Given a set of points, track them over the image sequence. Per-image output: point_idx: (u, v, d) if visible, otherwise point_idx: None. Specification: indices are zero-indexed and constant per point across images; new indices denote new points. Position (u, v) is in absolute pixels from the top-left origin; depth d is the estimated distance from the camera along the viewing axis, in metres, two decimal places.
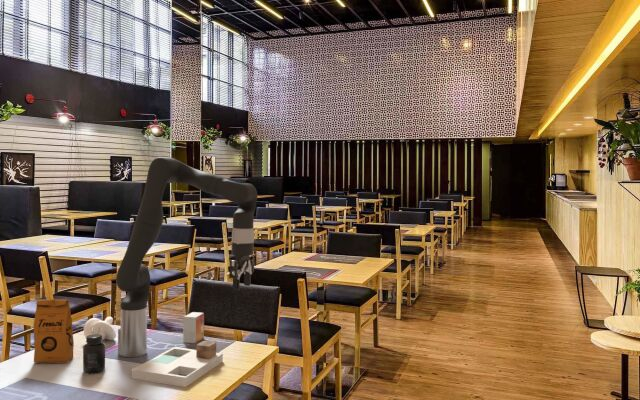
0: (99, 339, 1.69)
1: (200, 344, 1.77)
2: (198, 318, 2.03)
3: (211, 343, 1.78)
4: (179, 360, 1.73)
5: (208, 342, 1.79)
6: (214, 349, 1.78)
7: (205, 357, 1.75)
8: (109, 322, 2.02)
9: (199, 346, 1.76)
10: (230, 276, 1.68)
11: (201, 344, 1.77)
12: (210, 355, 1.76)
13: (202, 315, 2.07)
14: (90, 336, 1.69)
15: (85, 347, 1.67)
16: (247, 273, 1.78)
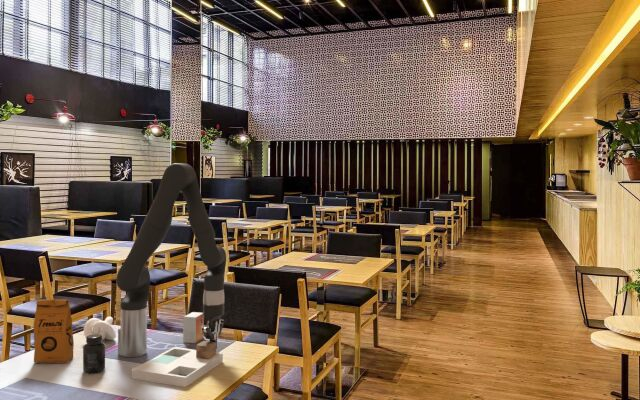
0: (99, 339, 1.69)
1: (200, 344, 1.77)
2: (198, 318, 2.03)
3: (211, 343, 1.78)
4: (179, 360, 1.73)
5: (208, 343, 1.78)
6: (214, 349, 1.78)
7: (205, 357, 1.75)
8: (109, 322, 2.02)
9: (199, 346, 1.76)
10: (207, 338, 1.80)
11: (201, 344, 1.77)
12: (210, 355, 1.75)
13: (202, 315, 2.07)
14: (90, 336, 1.69)
15: (85, 347, 1.67)
16: None
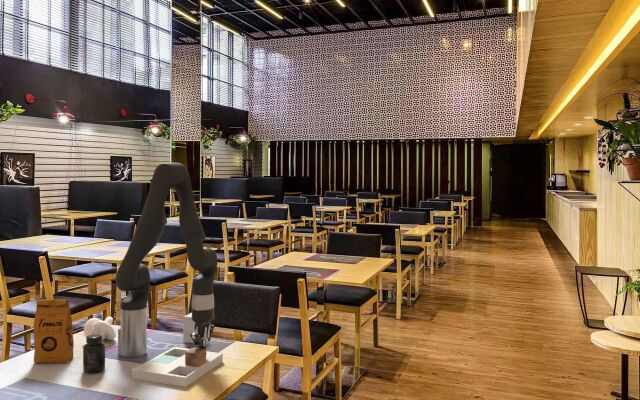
0: (99, 339, 1.69)
1: (189, 351, 1.69)
2: None
3: (201, 350, 1.71)
4: (179, 360, 1.73)
5: (198, 349, 1.71)
6: (204, 356, 1.71)
7: (194, 365, 1.68)
8: (109, 322, 2.02)
9: (188, 353, 1.68)
10: (196, 344, 1.72)
11: (190, 351, 1.69)
12: (199, 362, 1.68)
13: None
14: (90, 336, 1.69)
15: (85, 347, 1.67)
16: None
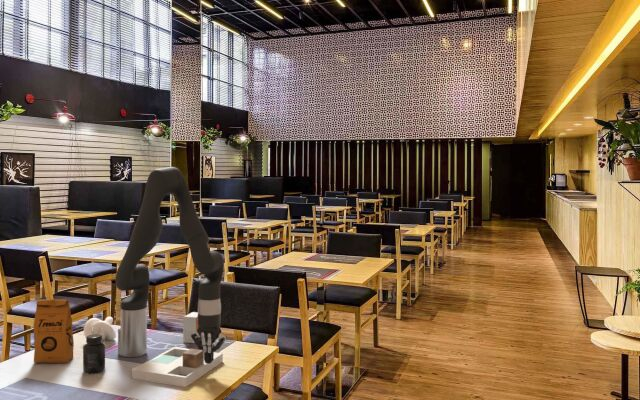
0: (99, 339, 1.69)
1: (186, 352, 1.68)
2: None
3: (198, 351, 1.69)
4: (179, 360, 1.73)
5: (195, 351, 1.70)
6: (201, 357, 1.70)
7: (192, 366, 1.67)
8: (109, 322, 2.02)
9: (185, 354, 1.67)
10: (215, 350, 1.67)
11: (188, 352, 1.68)
12: (197, 364, 1.67)
13: None
14: (90, 336, 1.69)
15: (85, 347, 1.67)
16: None
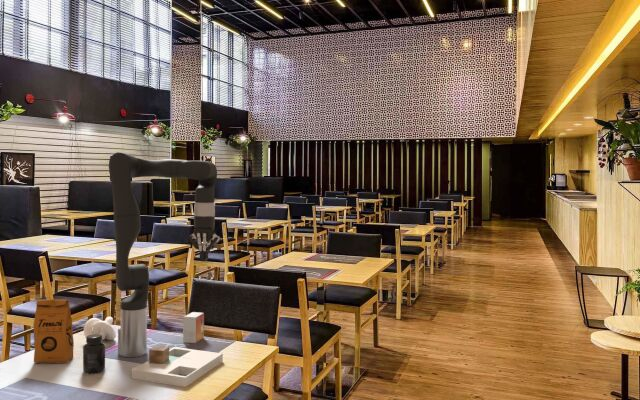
0: (99, 339, 1.69)
1: (153, 349, 1.71)
2: (198, 318, 2.03)
3: (164, 347, 1.73)
4: (179, 360, 1.73)
5: (161, 347, 1.73)
6: (167, 353, 1.73)
7: (159, 362, 1.70)
8: (109, 322, 2.02)
9: (152, 351, 1.70)
10: (210, 249, 1.86)
11: (154, 349, 1.71)
12: (164, 359, 1.70)
13: (202, 315, 2.07)
14: (90, 336, 1.69)
15: (85, 347, 1.67)
16: None
